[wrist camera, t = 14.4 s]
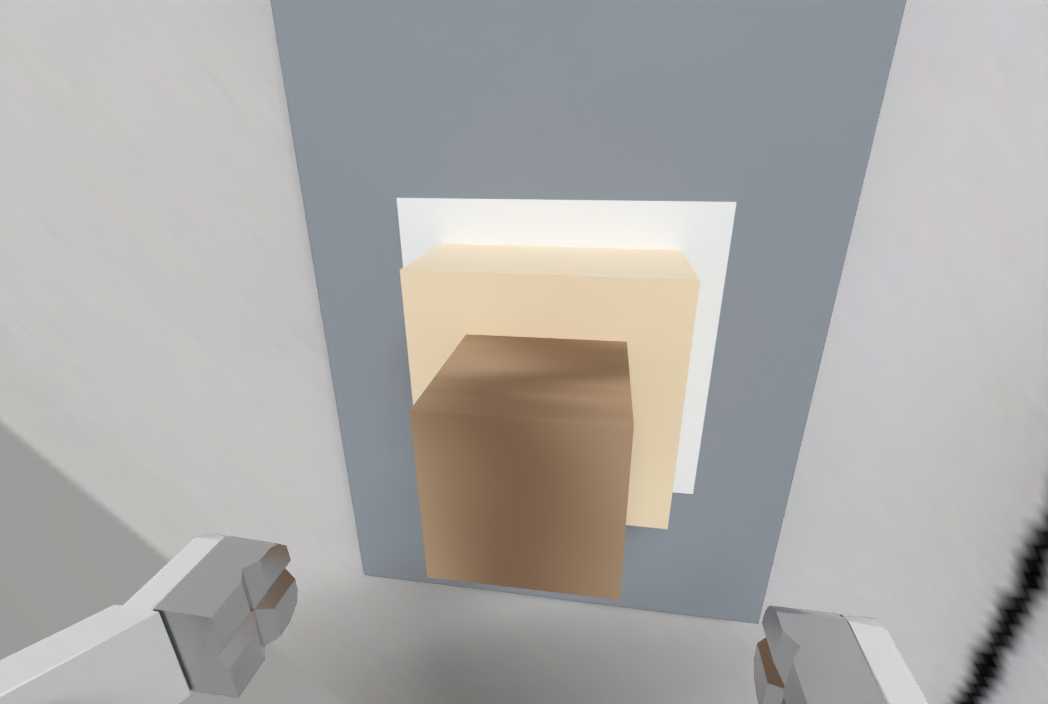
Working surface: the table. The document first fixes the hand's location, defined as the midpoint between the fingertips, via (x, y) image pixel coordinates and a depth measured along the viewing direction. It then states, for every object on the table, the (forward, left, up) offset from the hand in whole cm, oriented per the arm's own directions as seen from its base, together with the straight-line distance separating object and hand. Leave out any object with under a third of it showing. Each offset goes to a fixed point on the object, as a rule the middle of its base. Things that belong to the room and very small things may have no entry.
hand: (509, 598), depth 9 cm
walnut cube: (0, 0, -7) cm, 7 cm away
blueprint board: (0, 0, -12) cm, 12 cm away
